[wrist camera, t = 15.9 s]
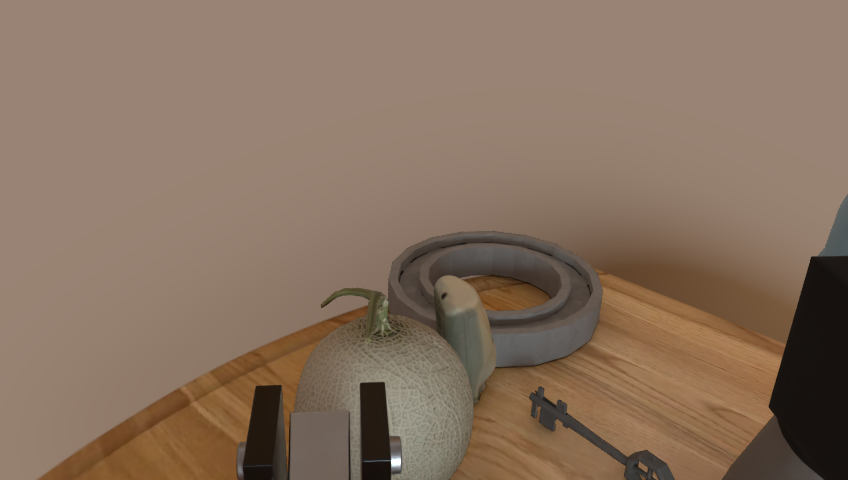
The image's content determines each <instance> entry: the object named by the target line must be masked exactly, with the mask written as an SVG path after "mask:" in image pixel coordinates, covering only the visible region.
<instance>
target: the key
mask: <svg viewBox="0 0 848 480" xmlns="http://www.w3.org/2000/svg"><path fill="white" fill-rule="evenodd" d="M535 392H536V394H535V393H531V394H530V396H529V399H530V400H531V401H533V402H532V411H531V416H532V417H534V418H536V417H537V412H538V411H537V407H538V406H540V407H541V409H540V417H539V422H540V423H542V424H543V425H544V426H546V427H547V428H548V429H550V430H551V431H554V430H555V420H556V418H557V419H558V420H559V421H561V422H562V423H563V426H564V427H565V428H568V427H569V428H571V429H572V430H574V431H575V432H577V433H578V434H580V435H581V436H583V437H584V438H586V439H587V440H589V441H590V442H591V443H593V444H594V445H596V446H597V447H599V448H600V449H601V450H603V451H604V452H606V453H607V454H609V455H610V456H611V457H613V458H614V459H616V460H617V461H619V462H620V463H622V464H623V465H625V466H626V468H625V474H624V476H625V478H626V480H642V479H641V477H640V475H642V476H643V477H645V478H646V480H656V479H654V478H653V477H652V474H653V471H654V472H655V473H656V475H657V477H658V479H659V480H675V479H674V477H673V475H672V473H671V471H670V469H669V467H668V465H667V464H666V463H665V462H664V461H662V460H661V459H659V458H658V457H656V456H655V455H653V454H652V453H650V452H649V451H647V450H644V451H639V452H635V453H633V454H632V455H630V456H629V457H626V456H625V455H624V454H622V453H621V452H620V451H619V450H617V449H616V448H614V447H613V446H611V445H610V444H609V443H607V442H606V441H605V440H603V439H602V438H600V437H599V436H598V435H596V434H595V433H593V432H592V431H591V430H589V429H588V428H587V427H585V426H584V425H583V424H581V423H580V422H578V421H577V420H576V419H574V418H573V417H572V416H570V415H569V414H568V413H566V411H567V404H565V403H564V402H562V401H561V400H558V401H557V406H556V405H555V404H554V403H552V402H551V401H549V400H548V399H547V398H545V397H544V388H542V387H541V386H540V387H538V392H537V391H535ZM639 461H640V462H641V463H643V464H644V465H645V466H647V467H648V472H647V473H646V472H645V471H643V470H642V469H640V468H639V467H638V464H639ZM639 474H640V475H639Z"/></svg>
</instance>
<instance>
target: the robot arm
mask: <svg viewBox="0 0 848 480" xmlns="http://www.w3.org/2000/svg"><path fill="white" fill-rule="evenodd" d="M768 407H769V408H770V410H771V411H772V412H773V413H774V416H773V417H772V418H771V419H770V420H769V422H768V423H767V424H766V425H765V426H764V427H763V429H762V430H761V431H760V432H759V433H758V435H757V436H756V437H755V438H754V439H753V440H752V442H751V443H750V444H749V445H748V446H747V448H746V449H745V450H744V451H743V452H742V453H741V455H740V456H739V457H738V458H737V459H736V461H735V462H734V463H733V464H732V465H731V466H730V468H729V470H728V471H727V473H726V474H725V476H724V477H723V479H722V480H848V195H847V196H846V197H845V199H844V200H843V202H842V204H841V206H840V208H839V210H838V213H837V215H836V218H835V221H834V224H833V226H832V229H831V232H830V235H829V237H828V240H827V243H826V245H825V248H824V249H823V251H822V252H821V253H820V254H819V255H818V257H811V260H810V263H809V267H808V270H807V274H806V277H805V281H804V284H803V288H802V291H801V295H800V298H799V302H798V305H797V309H796V312H795V316H794V319H793V323H792V326H791V330H790V333H789V337H788V340H787V344H786V347H785V351H784V354H783V358H782V361H781V365H780V368H779V372H778V375H777V379H776V382H775V385H774V389H773V392H772V396H771V399H770V403H769V406H768Z"/></svg>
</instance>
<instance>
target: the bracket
mask: <svg viewBox="0 0 848 480" xmlns="http://www.w3.org/2000/svg"><path fill="white" fill-rule="evenodd" d="M360 473H361V480H391V475H393V474H401V473H402V445H401V437H400V436H389V424H388V412H387V399H386V387H385V382H363V383H360ZM237 478H238V480H288V473H287V458H286V443H285V427H284V412H283V397H282V386H281V385H268V386H256V387H255V394H254V400H253V406H252V412H251V418H250V424H249V430H248V436H247V442H240V443H239V445H238V450H237Z"/></svg>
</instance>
